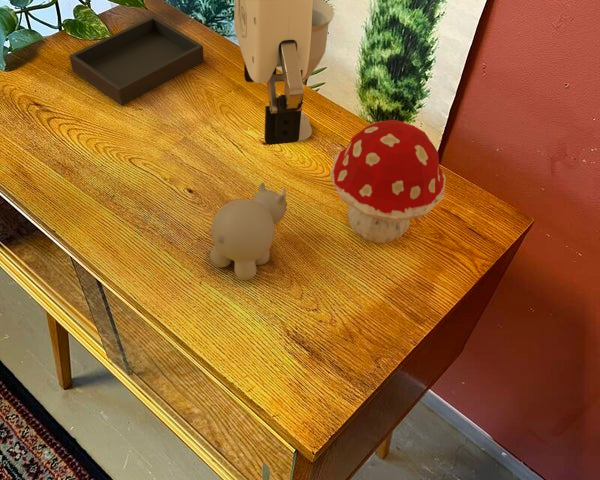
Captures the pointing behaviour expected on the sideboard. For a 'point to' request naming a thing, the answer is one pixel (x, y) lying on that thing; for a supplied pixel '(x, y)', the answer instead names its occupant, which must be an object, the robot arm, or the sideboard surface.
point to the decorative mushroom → (388, 179)
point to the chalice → (316, 50)
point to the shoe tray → (137, 59)
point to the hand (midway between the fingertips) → (270, 109)
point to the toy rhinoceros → (247, 231)
